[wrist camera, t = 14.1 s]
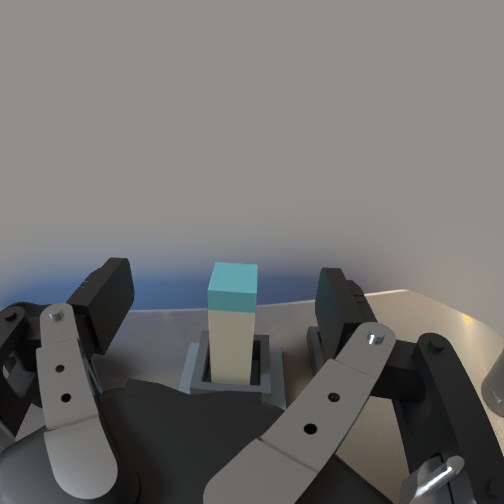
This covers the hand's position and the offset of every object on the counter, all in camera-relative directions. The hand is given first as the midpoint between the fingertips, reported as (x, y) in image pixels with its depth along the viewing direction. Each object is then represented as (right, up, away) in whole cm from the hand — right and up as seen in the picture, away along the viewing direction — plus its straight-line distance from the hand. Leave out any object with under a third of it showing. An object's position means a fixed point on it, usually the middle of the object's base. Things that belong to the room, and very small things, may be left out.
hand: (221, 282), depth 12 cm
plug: (-1, -14, +20) cm, 24 cm away
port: (-1, -15, +21) cm, 25 cm away
